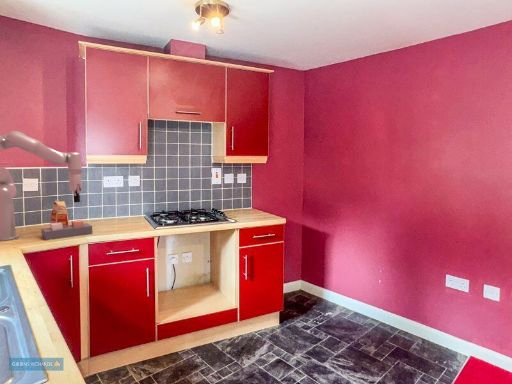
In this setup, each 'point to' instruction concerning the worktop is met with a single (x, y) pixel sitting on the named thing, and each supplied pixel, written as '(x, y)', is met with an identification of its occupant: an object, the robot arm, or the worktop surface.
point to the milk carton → (59, 213)
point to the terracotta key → (77, 223)
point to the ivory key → (56, 226)
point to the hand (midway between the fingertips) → (77, 202)
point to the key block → (66, 232)
